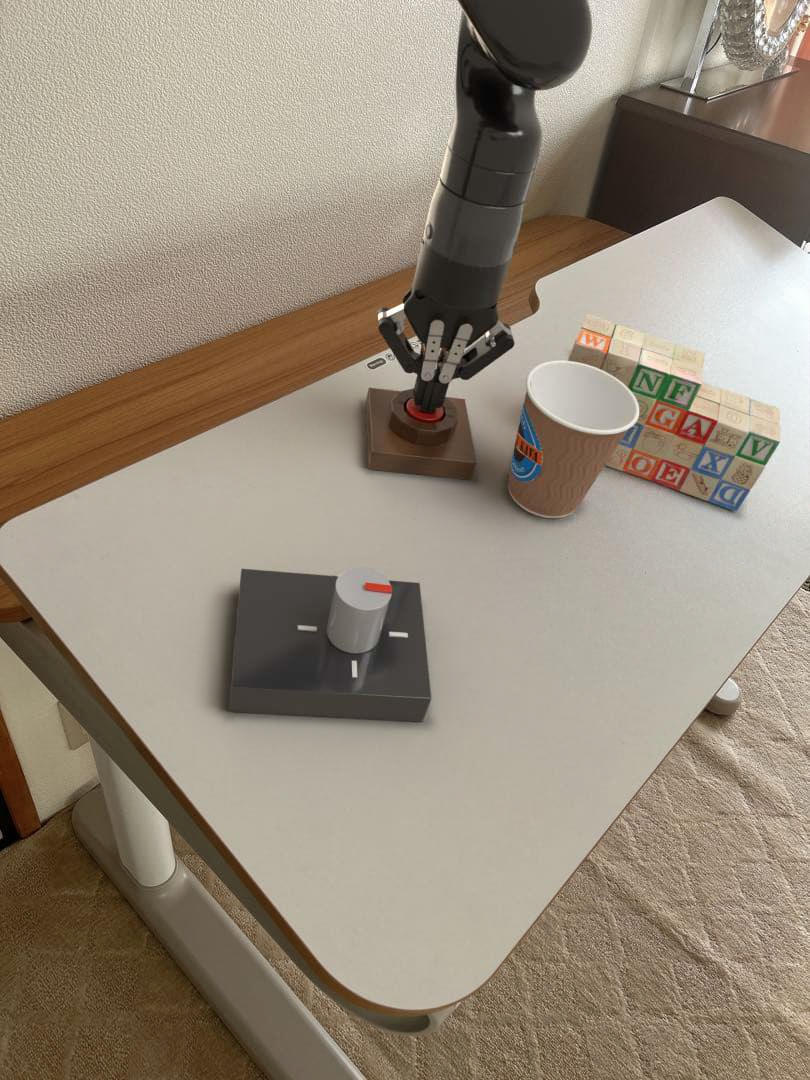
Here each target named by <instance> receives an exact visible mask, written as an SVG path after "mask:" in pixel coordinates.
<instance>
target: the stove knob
mask: <svg viewBox="0 0 810 1080" xmlns="http://www.w3.org/2000/svg"><path fill="white" fill-rule="evenodd" d="M337 576H338V578H337V580H336V584H335V589H334V594H333V598H332V603H331V608H330V613H329V617H328V622H327V627H326V632H327V636H328V638H329V640H330V641H331V643H332V644H333V645H334V646H336V647H337V648H338V649H340V650H342V651H345V652H348V653H364V652H367V651H369V650H371V649H372V648H374V647H375V646H376V644H377V643H378V641H379V638H380V634H381V631H382V627H383V624H384V620H385V616H386V613H387V609H388V606H389V602H390V599H391V595H392V586H391V585H390V583H389V581H388V580H389V579H388V578H387V577H386V576H385V575H384V574H382V573H381V572H380V571H378V570H376V569H373V568H371V567H366V566H354V567H349V568H347V569H345V570H344V571H342V572H340V574H339V575H337Z"/></svg>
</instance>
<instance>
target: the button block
mask: <svg viewBox="0 0 810 1080" xmlns="http://www.w3.org/2000/svg"><path fill="white" fill-rule="evenodd" d="M413 390H414V387H412V388H410V389H405V390H392V389H385V388H378V387H377V388H376V387H368V390H367V393H366V399H365V403H364V408H365V426H366V427H365V428H366V442H367V461H368V462H367V463H368V470H372V471H381V472H382V471H383V472H391V473H399V474H400V473H401V474H409V475H410V474H411V475H420V476H430V477H440V478H449V479H459V480H467V481H472V478H473V475H474V472H475V469H476V466H477V464H478V462H477V458H476V457H477V456H476V451H475V447H474V442H473V436H472V435H473V434H472V431H471V424H470V419H469V414H468V409H467V404H466V398H459V397H450V396H445V400H444V403H443V405H442V408H443V411H444V412H443V416H442V420H441V422H437V423H433V424H432V423H424V422H419V421H417V420H415V419H413V418H411V417H410V416H409V415H408V414H407V413H406V412H405V410H406V406H407V403H408V401H409V400H410V399H412V398H414V395H413Z"/></svg>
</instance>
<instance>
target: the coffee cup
mask: <svg viewBox="0 0 810 1080" xmlns="http://www.w3.org/2000/svg"><path fill="white" fill-rule="evenodd" d="M525 389H526V392H525V396H524V402H523V403H522V404H523V405H522V410H521V415H520V419H519V424H518V428H517V431H516V437H515V441H514V446H513V450H512V456H511V459H510V460H511V461H510V468H509V472H508V492H509V495H510V496H511V498H512V500H513V502H515V503H516V504H517V505H518V506H519V507H520V508H521V509H523V510H525V511H526V512H528V513H529V514H532V515H534V516H537V517H541V518H545V519H561V518H565V517H567V516H569V515H571V514H572V513H573V512H574V511H575V510H576V509H577V507H579V506H580V504H581V503H582V502H583V500H584V498H585V497H586V495H587V494H588V493H589V491H590V490H591V488H592V486H593V485H594V483H595V481H596V480H597V479H598V477H599V476H600V474H601V472H602V471H603V469H604V468H605V466H606V465H605V464H606V463H607V461H608V460H609V458H610V457H611V455H612V454H613V452H614V451H615V449H616V447H617V446H618V444H619V443H620V441H621V440H622V438H623V437H624V435H625V433H626V432H627V430H628V429H629V428H631V427H632V426H633V425H634V424H635V423H636V421H637V420H638V417H639V405H638V402H637V400H636V398H635V396H634V395H633V393H632V392H631V391H630V390H629V389H628V387H626V386H625V385H624V384H623V383H622V382H621V381H619V380H618V379H617V378H615V377H614V376H612V375H610V374H608V373H607V372H605V371H603V370H600V369H598V368H596V367H593V366H590V365H587V364H583V363H579V362H573V361H568V360H551V361H546V362H543V363H539V364H537V365H536V366H535V367H533V368H532V369H531V370H530V371H529V373H528V374H527V376H526V378H525Z"/></svg>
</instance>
